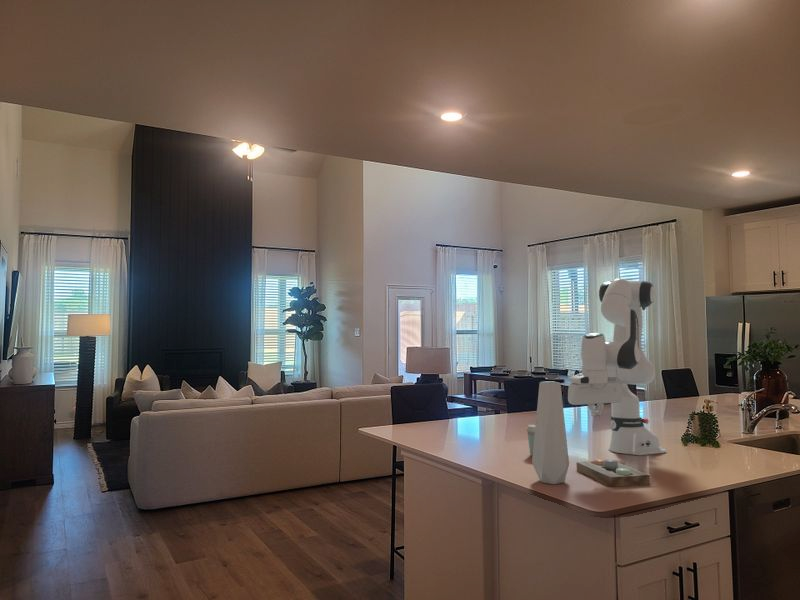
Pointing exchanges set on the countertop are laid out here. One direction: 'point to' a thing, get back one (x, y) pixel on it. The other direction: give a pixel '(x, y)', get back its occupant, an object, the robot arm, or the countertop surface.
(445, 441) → the countertop surface
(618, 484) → the panel
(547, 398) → the white faceted column
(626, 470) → the button sage
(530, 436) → the coffee cup
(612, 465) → the button grey
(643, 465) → the countertop surface
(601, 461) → the button terracotta
